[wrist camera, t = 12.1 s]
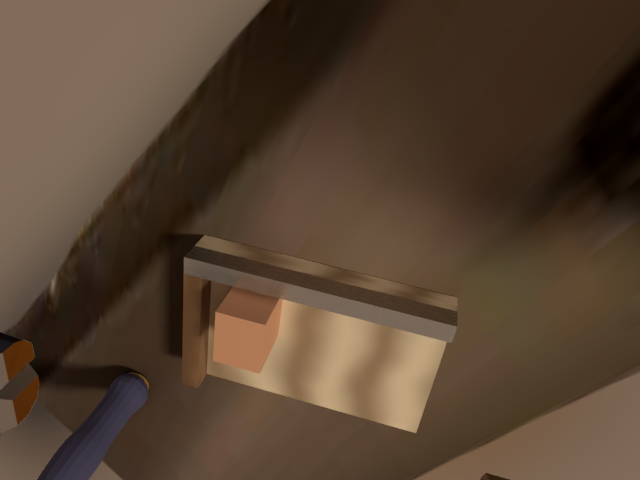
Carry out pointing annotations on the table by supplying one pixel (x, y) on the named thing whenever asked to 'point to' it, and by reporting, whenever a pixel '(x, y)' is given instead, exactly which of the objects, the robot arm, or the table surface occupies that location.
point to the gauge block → (246, 329)
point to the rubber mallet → (98, 430)
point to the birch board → (322, 346)
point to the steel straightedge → (322, 293)
